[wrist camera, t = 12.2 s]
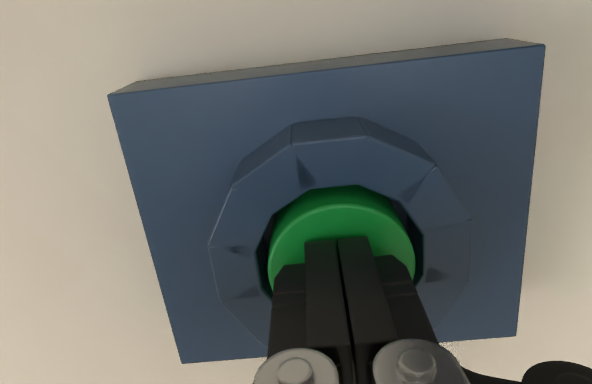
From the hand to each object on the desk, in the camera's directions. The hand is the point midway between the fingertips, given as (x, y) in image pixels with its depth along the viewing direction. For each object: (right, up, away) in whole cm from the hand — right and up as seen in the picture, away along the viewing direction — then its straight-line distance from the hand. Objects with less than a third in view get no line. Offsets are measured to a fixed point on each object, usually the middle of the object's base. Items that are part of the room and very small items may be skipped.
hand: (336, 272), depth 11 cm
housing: (0, +2, +4) cm, 4 cm away
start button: (0, +1, +2) cm, 2 cm away
